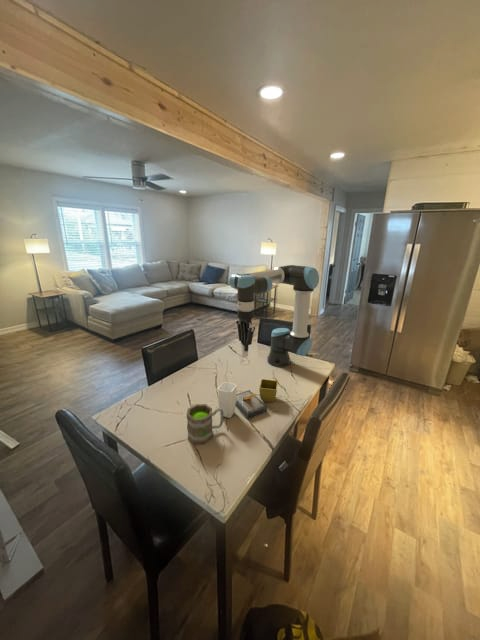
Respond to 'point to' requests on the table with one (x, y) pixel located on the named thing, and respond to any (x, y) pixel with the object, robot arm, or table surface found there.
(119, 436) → the table surface
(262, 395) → the flower pot
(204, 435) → the mug
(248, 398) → the paddle
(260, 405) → the panel
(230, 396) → the cup
